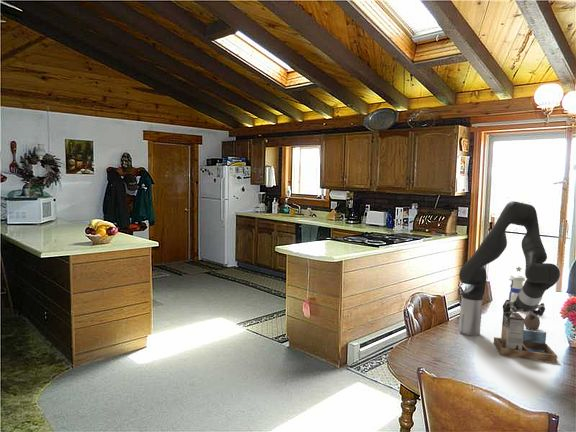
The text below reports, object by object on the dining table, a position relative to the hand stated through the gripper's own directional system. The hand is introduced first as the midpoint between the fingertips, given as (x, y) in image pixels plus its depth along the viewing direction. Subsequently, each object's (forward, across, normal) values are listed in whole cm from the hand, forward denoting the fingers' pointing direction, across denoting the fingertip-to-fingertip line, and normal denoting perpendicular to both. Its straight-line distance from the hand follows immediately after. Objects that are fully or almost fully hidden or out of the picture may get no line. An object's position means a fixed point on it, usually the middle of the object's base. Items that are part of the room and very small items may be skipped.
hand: (519, 316), depth 173 cm
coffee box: (+18, 0, +7) cm, 20 cm away
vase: (+44, -18, -19) cm, 51 cm away
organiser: (+18, -5, +7) cm, 20 cm away
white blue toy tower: (+71, -19, -45) cm, 86 cm away
